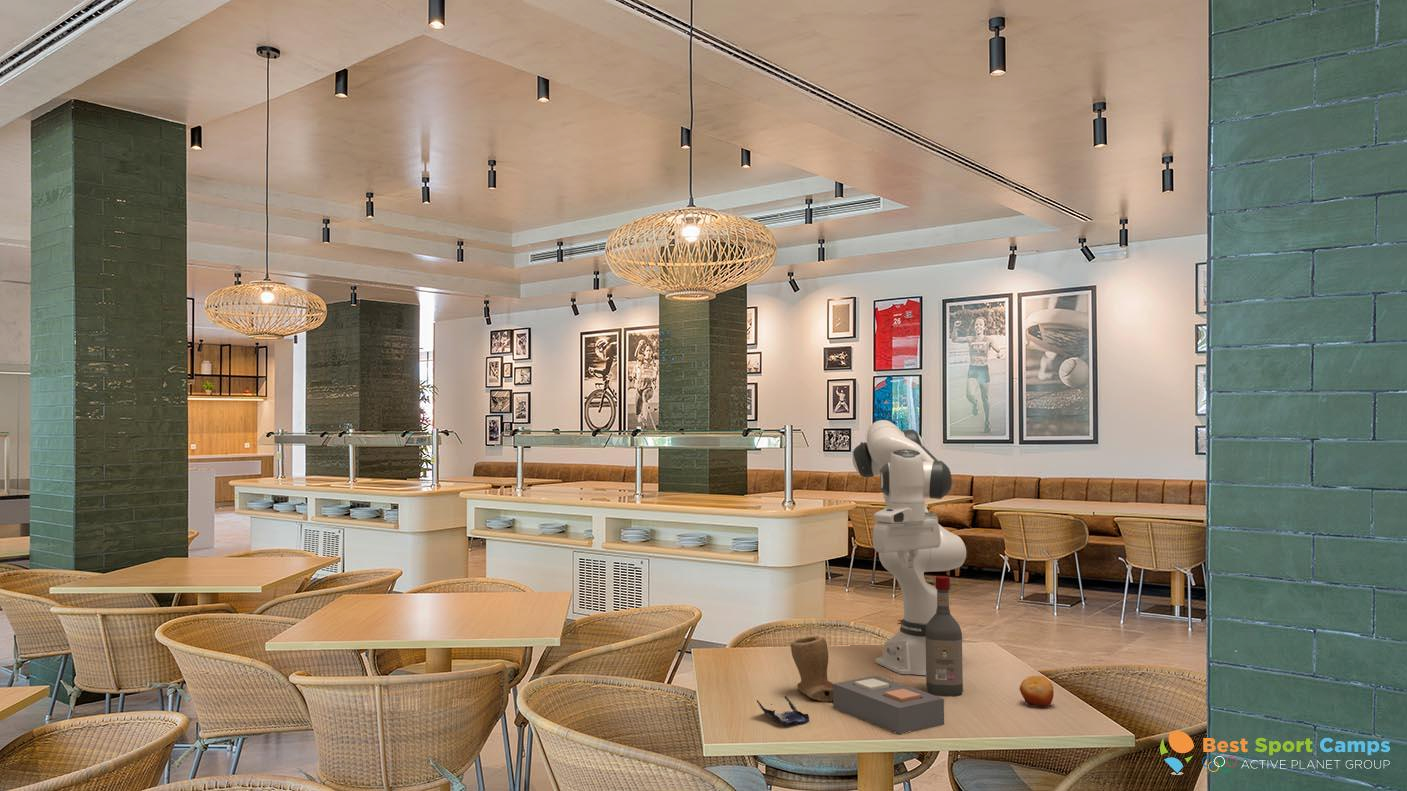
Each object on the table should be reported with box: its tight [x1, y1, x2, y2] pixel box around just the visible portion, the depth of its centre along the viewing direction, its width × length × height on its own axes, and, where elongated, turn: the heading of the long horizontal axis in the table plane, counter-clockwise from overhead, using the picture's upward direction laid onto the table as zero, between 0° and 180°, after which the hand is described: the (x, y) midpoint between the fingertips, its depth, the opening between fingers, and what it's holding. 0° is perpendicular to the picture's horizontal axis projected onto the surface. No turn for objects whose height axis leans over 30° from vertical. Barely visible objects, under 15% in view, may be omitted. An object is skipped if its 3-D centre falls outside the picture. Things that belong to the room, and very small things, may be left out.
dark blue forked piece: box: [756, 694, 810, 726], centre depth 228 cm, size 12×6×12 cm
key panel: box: [832, 675, 945, 735], centre depth 230 cm, size 24×14×6 cm, turn 31°
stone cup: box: [790, 635, 834, 702], centre depth 248 cm, size 15×12×15 cm
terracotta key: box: [884, 689, 921, 702], centre depth 226 cm, size 6×6×3 cm
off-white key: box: [855, 678, 889, 691], centre depth 235 cm, size 6×6×3 cm
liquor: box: [925, 575, 964, 697], centre depth 251 cm, size 9×9×30 cm
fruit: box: [1019, 675, 1055, 708], centre depth 239 cm, size 8×8×8 cm
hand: (908, 567), depth 242 cm, fingers closed
